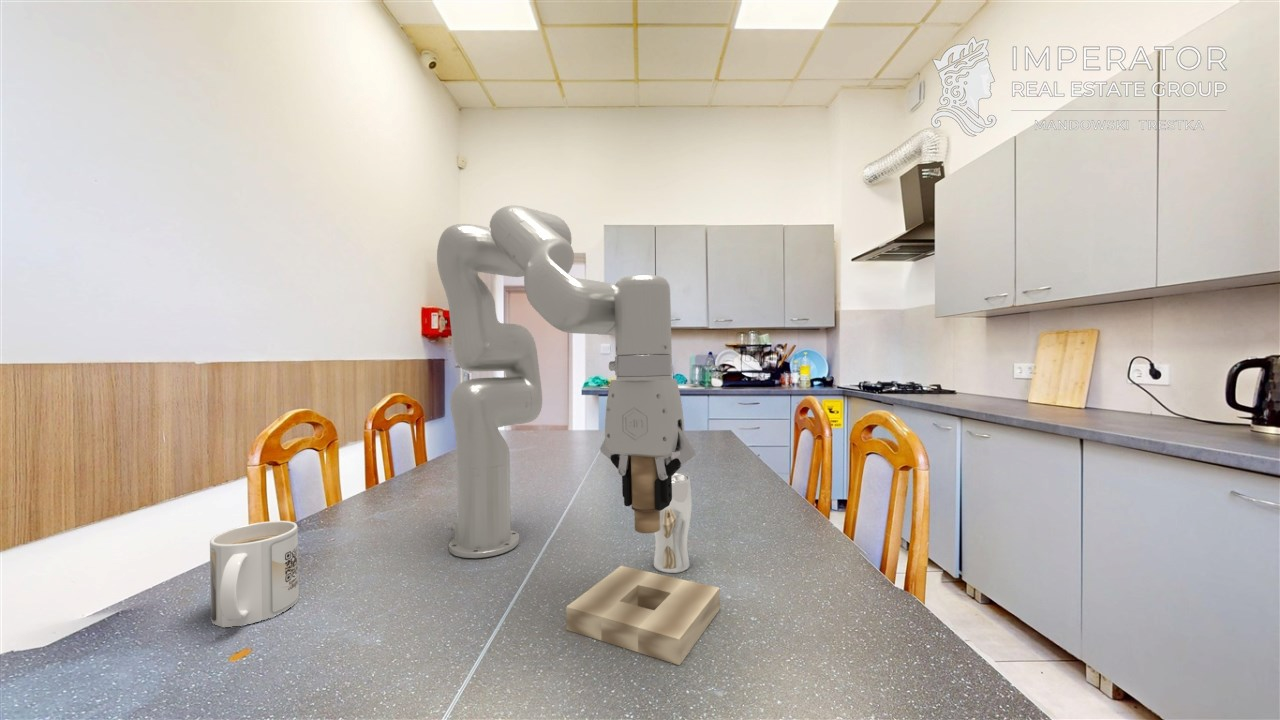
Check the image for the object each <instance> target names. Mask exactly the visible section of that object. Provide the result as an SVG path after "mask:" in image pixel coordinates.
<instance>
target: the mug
mask: <svg viewBox="0 0 1280 720" xmlns="http://www.w3.org/2000/svg"><path fill="white" fill-rule="evenodd" d="M298 529H299V527H298V524H297V523H296V522H293V521H290V520H272V521H271V520H270V521H260V522H255V523H250V524H245V525H241V526H238V527H234V528H231V529H228V530H224V531H222V532H220V533H218V534H216V535H214V536H213V537H211V539H210V540H209V560H210V561H209V569H210V570H209V571H210V572H209V574H210V576H209V577H210V582H209V583H210V621H212V622H211V623H212V624H213V623H214V624H215V625H218V626H224V627H223V628H225V627H231V626H240V625H244V624H249V623H254V622H257V621H261V620H264V619H267V618H269V617H272V616H274V615H277V614H278V613H281V612H283V611H285V610H287V609H288V608H290V607H291V606H293V605H294V604H295V603H296V602H299V596H300V595H299V594H300V592H299V590H300V589H299V532H298V531H299V530H298ZM296 604H297V603H296ZM296 604H295V605H296ZM295 605H294V606H295ZM294 606H293V607H294ZM214 624H213V625H214ZM215 625H214V626H215ZM218 626H217V627H218ZM231 628H232V627H231Z"/></svg>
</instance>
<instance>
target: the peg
mask: <svg viewBox="0 0 1280 720" xmlns="http://www.w3.org/2000/svg"><path fill="white" fill-rule="evenodd" d="M656 479H658V472H657V466H656V461H655V457H644V456H632V455H631V483H632V505H631V510H633V512H634V531H636V532H637V533H638V534H639V533H640V534H654V533H655V532H658V531H659V530H660V511H659V510H656V509H655V480H656Z"/></svg>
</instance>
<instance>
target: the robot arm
mask: <svg viewBox="0 0 1280 720" xmlns="http://www.w3.org/2000/svg"><path fill="white" fill-rule="evenodd" d="M572 238H573V237H572V233H571V229H570V228H569V226H568V224H567V223H566V222H565V220H564V219H562V218H561V217H559V216H557V215H555V214H552V213H548V212H545V211H540V210H537V209H533V208H529V207H526V206H523V205H507V206H506V205H505V206H502V207H501V208H499V209H498V210H496V211H495V212H494V214H492V216H491V218H490V221H489V227H487V226H482V225H477V224H472V223H471V224H470V223H458V224H453V225H450V226H448V227H446V229H444V231H443V232H442V233H441V234H440V237H439V239H438V244H437V249H436V262H437V271H438V274H439V278H440V282H441V284H442V287H443V290H444V292H445V295H446V296H445V297H446V299H447V303H448V310H449V312H448V314H449V321H450V329H451V331H450V332H451V340H452V346H453V347H452V349H453V354H454V359H455V362H456V364H457V366H458V367H459V368H460V369H462V370H464V371H468V372H501V371H502V372H503V371H504V373H505V375H506V377H504V376H503V377H502V376H501V377H498V376H497V377H495V376H493V377H476V378H470V379H467V380H465V381H462V382H460V383H459V384H457V385H456V386H455V387H454V388H453V390H452V392H451V396H450V401H449V402H450V403H449V404H450V411H451V418H452V421H453V428H454V433H455V434H454V435H455V443H456V477H457V478H456V481H457V482H456V483H457V485H456V487H457V492H456V493H457V515H456V516H454V517H453V518H452V521H451V522H450V521H449V522H448V523H447V525H446V529H448V530H449V531H454V537H453V538H452V539H451V540H450V542H449V544H448V550H449V552H450V553H451V554H452V555H453V556H455V557H459V558H464V559H482V558H490V557H494V556H498V555H502V554H505V553H508V552H509V551H511V550H513V549H515V548H516V547H517V546H518V545H519V544H520V535H519V533H518V532H516V531H515V530H513V529H511V528H512V527H511V526H512V524H511V523H512V522H511V521H512V520H511V516H512V515H511V453H510V447H509V445H508V443H507V441H506V439H505V438H504V437H503V435H502V434H501V432H500V430H499V428H502V427H506V426H515V425H523V424H528V423H530V422H533V421H534V420H536V419H537V418H538V417H539V415H540V414H541V411H542V407H543V392H542V391H543V390H542V382H541V375H540V367H539V358H538V357H539V356H538V350H537V345H536V341H535V339H534V337H533V335H532V333H531V332H530V330H529V329H527V328H526V327H525V326H522V325H521V324H516V323H503V322H500V321H499V319H498V316H497V311H496V301H495V298H494V296H493V294H492V292H491V290H490V289H489V286H488V285H487V284H486V283H485V282H484V281H483V279H481V277H480V276H479V273H484V274H490V275H496V276H497V275H498V276H503V277H505V276H507V277H512V278H522V277H523V285H524V290H525V296H526V298H527V300H528V302H529V304H530V305H531V306H532V308H533V310H535V311H536V313H538V314H539V315H540V317H541V318H543V319H544V320H545V321H546V322H547V323H548V324H550V325H551V327H552V326H553V328H555V329H557V330H559V331H561V332H564V333H569V334H585V335H599V336H600V335H603V336H605V335H606V336H614V337H615V341H614V342H615V343H614V344H615V356H614V360H612V361H610V362H609V363H608V370H609V371H611V372H614V373H615V379H610V383H609V388H608V392H607V393H608V394H607V399H606V409H605V421H604V422H605V423H604V424H605V426H604V440H603V442H602V444H601V446H600V447H599V450H600V453H602V454H603V455H604V456H605V457H606V458H608V459H610V462H611V463H612V464H613V465H614V466H615V468H616V469H617V473H618V475H619V476H620V477H621V479H622V480H621V481H622V482H621V484H622V485H621V486H622V487H621V488H622V489H621V490H622V492H621V493H622V497H623V503H624V504H623V505H624V507H631V506H632V483H631V455H632V456H644V457H655V461H656V466H657V472H658V479H656V480H655V509H656V510H659V511H661V510H663V509H664V508H666V507H667V506H669V505H670V502H671V500H672V476H673V475H674V474H675V473H677V472H678V471H679V469H680V468H682V467H683V466H684V465H685V464H686V463H689V461H691V460H693V459H694V458H695V457H696V456H697V452H696V451H695V450H694V448H693V446H692V445H691V443H690V441H689V440H688V438H687V436H686V435H685V424H684V423H685V421H684V420H685V419H684V411H683V404H682V403H683V402H682V398H681V393H680V389H679V384H678V380H677V378H673V360H672V359H673V355H672V353H673V352H672V314H671V312H672V311H671V310H672V309H671V308H672V307H671V287H670V284H669V282H668V280H667V279H666V278H664V277H662V276H659V275H654V274H635V275H627V276H623V277H622V278H620V279H618V280H617V281H616V283H610V282H605V281H600V280H599V281H598V280H593V279H592V280H591V279H585V278H578V277H575V276H572V275H570V274H569V273H570V272H571V269H572V268H573V265H574V262H575V261H574V260H575V259H574V258H575V253H574V250H573V247H572ZM677 452H679V455H677V456H676V457H673V453H677Z"/></svg>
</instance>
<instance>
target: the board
mask: <svg viewBox="0 0 1280 720" xmlns="http://www.w3.org/2000/svg"><path fill="white" fill-rule="evenodd" d="M720 595H721V588H720V587H718V586H713V585H708V584H704V583H701V582H700V583H699V582H695V581H691V580H688V579H687V580H686V579H681V578H677V577H673V576H668V575H663V574H660V573H655V572H651V571H646V570H641V569H638V568H633V567H629V566H625V565H620V566H619V567H617V568H616V569H614V570H613V571H612V572H611V573H609V574H608V575H606V576H605V577H604V578H603V579H601V580H600V581H598V582H597V583H596V584H594V585H593V586H592V587H591V588H589V589H588V590H586V591H585V592H584V593H582V594H581V595H580V596H579V597H577V598H576V599H575V600H573V601H572V602H571V603H569V604H567V606H566V607H565V610H566V611H565V613H566V614H565V615H566V616H565V617H566V618H565V619H566V622H565V623H566V625H565V628H566V631H569V632H571V633H575V634H579V635H582V636H584V637H588V638H592V639H595V640H597V641H598V640H599V641H601V642H604V643H607V644H611V645H613V646H617V647H620V648H623V649H627V650H629V651H632V652H636V653H638V654H642V655H645V656H649V657H652V658H654V659H658V660H660V661H664V662H667V663H670V664H674V665H676V666H680V665H681V664H682V663H683V662H684V660H685V659H686V657H687V656H688V654H689V653H690V652H691V651H692V649H693V647H694V646H695V645H696V644H697V642H698V641H699V639H700V638H701V636H702V635H703V634H704V632H705V631H706V630H707V628H708V627H709V625H710V624H711V622H713V619H714V618H715V617H716V616H717V614H718V613H719V611H720V610H721V597H720Z"/></svg>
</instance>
